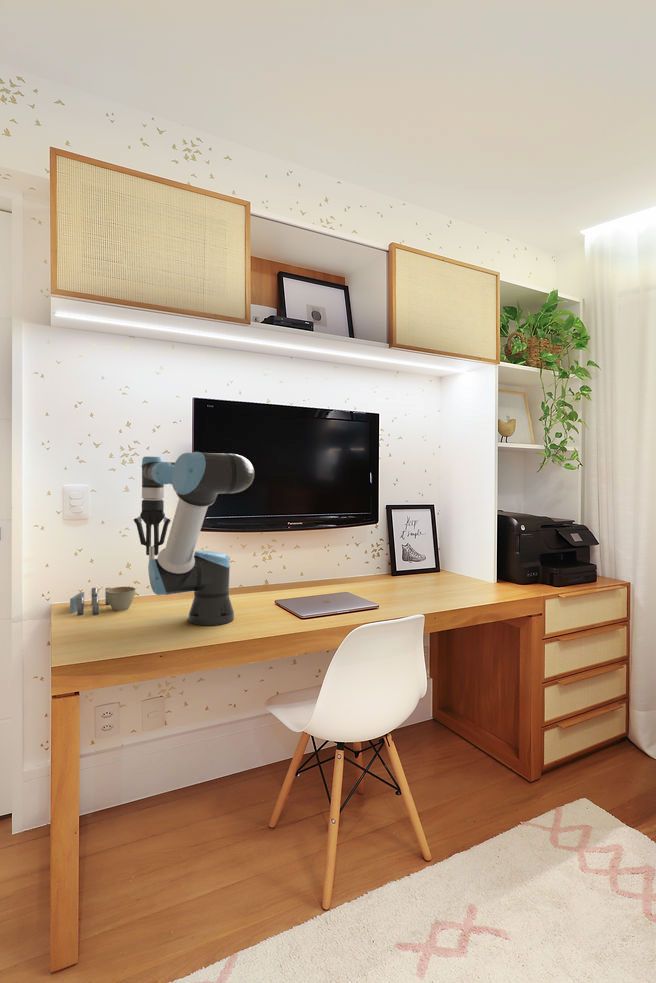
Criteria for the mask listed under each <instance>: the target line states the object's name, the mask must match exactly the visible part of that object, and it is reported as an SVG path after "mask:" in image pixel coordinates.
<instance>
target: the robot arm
mask: <svg viewBox="0 0 656 983" xmlns="http://www.w3.org/2000/svg"><path fill="white" fill-rule="evenodd" d="M254 479H255V469H254V466H253V464H252V463H251V461H250V460H249V459H247V457H244V456H243V455H239V454H236V453H218V452H217V453H216V452H215V453H213V452H211V453H210V452H200V451H193V452H184V453H182V454H180V455H178V457H177V458H176V460H175V461H174V462H172V461H171V462H170V461H165V459H164V457H162V456H143V457H142V460H141V499H142V500H141V512H140V514H139V516H138V517H135V518H134V519H133V522H134V523H135V526H136V528H137V532H138V533H137V534H138V537H139V538H138V539H139V541H140V545H141V546H145V548H146V549H145V550H146V551H145V552H146V553H145V554H146V556H148V566H147V568H148V578H149V584H150V588H151V591H152V592H153V593H154V594H155V595H157V596H163V595H164V596H167V595H174V594H175V595H176V594H183V593H189V592H191V593H192V592H193V595H194V597H193V600H192V603H191V606H190V609H189V612H188V622H189V623H191V624H192V625H198V626H219V625H224V624H228V623H231V622H232V621H234V619H235V611H234V608H233V605H232V602H231V598H230V569H231V566H230V558H229V555H228V554H226V553H224V552H218V551H213V550H211V551H210V550H195V548H196V545H197V543H198V540H199V535H200V533H201V530H202V526H203V524H204V521H205V517H206V514H207V511H208V508H209V506H212V505H213V504H214V503H215V502H216V500H217V497H218V495H219V494H221V495H222V494H226V495H227V494H228V495H229V494H237V493H240V492H243V491H245V490H246V489H248V488H249V487H251V485H252V484H253V481H254ZM164 485H172V488H173V490H174V493H176V496H177V497H178V500H177V501H178V502H177V505H176V509H175V511H174V512H175V514H174V516H173V519H172V518H170V517H167V516H166V514H165V512H164V507H165V506H164V505H165V504H164V501H165V500H163V499H164V497H165V496H164V494H165V493H164V492H165V490H164V488H165V486H164ZM162 521H163V525H162V530H161V534H159V533H160V530H159V529H160V523H161V522H162ZM171 521H172V523H171ZM142 522H144V523H145V528H146V529H145V532H144V528H143V524H142ZM170 523H171V527H170V530H169V535H168V537H167V541H166V545H165V547H164V548H163V549H161V550H160V551H159V549H160V548H159V547H160V546H162V545H164V543H165V539H166V536H167V532H168V528H169V525H170ZM152 526H153V545H152ZM156 556H157V558H156Z"/></svg>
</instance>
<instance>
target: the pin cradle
mask: <svg viewBox="0 0 656 983" xmlns="http://www.w3.org/2000/svg"><path fill="white" fill-rule="evenodd" d="M110 588H111V587H106V588H105V589H104V590H105V592H104V594H105V598H104V599H105V600H104V602H105V605H107V606H111V605H110V603H109V601H108V599H107V595H106V590H107V589H110ZM99 598H100V597H99V596H98V587H92V588H91V606H92V608H91V610H92V616H99V615H100V614H99V612H100V609H99V607H100V606H99V605H100V604H99V603H100V601H99ZM69 606H70V607H69V613H70V614H75V613H76V612H77V613H76V614H77V616H83V615H84V614H85V613H84V611H85V610H84V609H85V592H84V591H80V592H79V593H78V594H77V593H76V595H74V596H72V597H71V598H69Z"/></svg>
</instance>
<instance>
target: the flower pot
mask: <svg viewBox="0 0 656 983" xmlns="http://www.w3.org/2000/svg"><path fill="white" fill-rule="evenodd" d="M109 588H110V589H107V590H106V595H107V599H108V601H109V603H110V605H109V606H110V607H111V609H113V611H117V612H119V611H121V612H122V611H127V610H129V609H130V606H131V605H132V602H134V599H135V594H136V587H133V586H115V587H109Z"/></svg>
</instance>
